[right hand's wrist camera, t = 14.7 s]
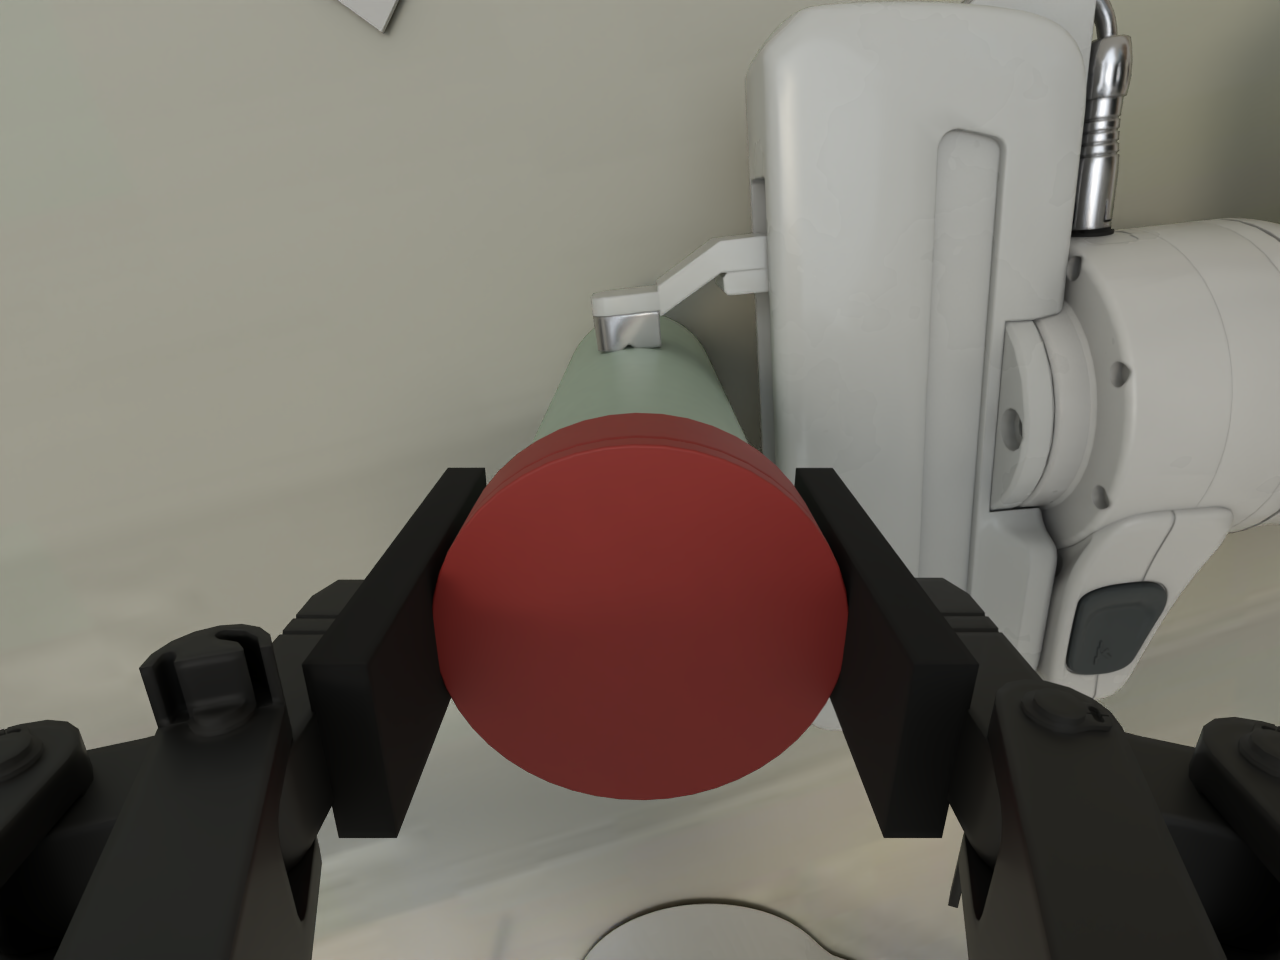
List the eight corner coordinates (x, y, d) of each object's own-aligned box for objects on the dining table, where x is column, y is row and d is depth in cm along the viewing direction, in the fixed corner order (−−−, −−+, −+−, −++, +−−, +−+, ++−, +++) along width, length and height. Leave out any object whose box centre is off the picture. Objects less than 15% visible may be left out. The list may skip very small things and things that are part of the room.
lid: (557, 338, 11) (542, 360, 9) (897, 521, 12) (936, 569, 10) (402, 647, 13) (369, 708, 11) (703, 777, 14) (711, 850, 12)
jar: (730, 331, 25) (857, 500, 11) (692, 468, 27) (754, 775, 12) (582, 296, 25) (498, 422, 10) (554, 438, 27) (450, 719, 12)
